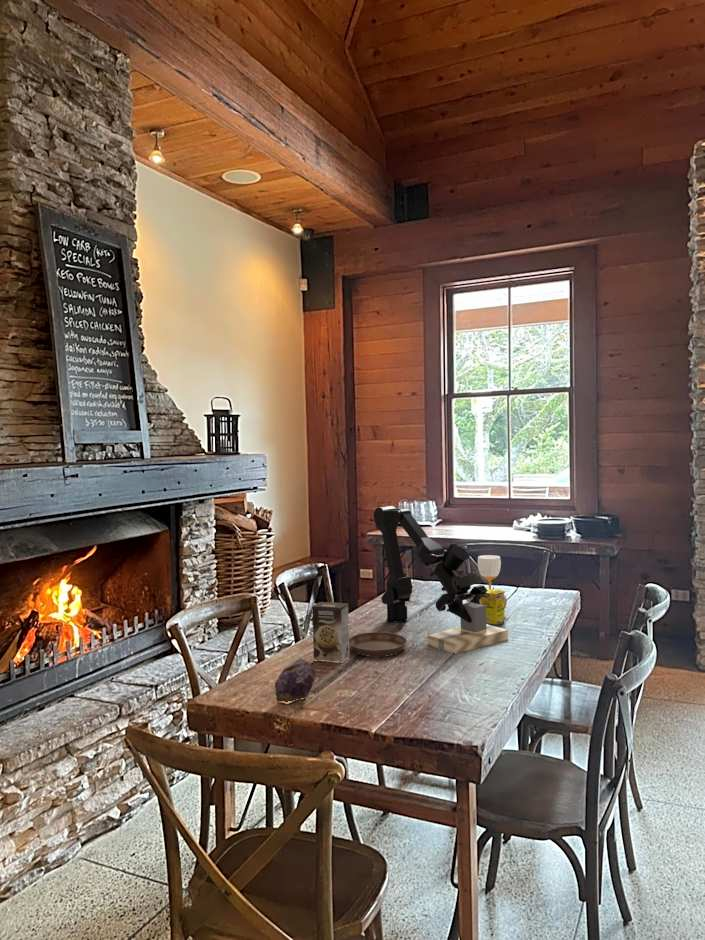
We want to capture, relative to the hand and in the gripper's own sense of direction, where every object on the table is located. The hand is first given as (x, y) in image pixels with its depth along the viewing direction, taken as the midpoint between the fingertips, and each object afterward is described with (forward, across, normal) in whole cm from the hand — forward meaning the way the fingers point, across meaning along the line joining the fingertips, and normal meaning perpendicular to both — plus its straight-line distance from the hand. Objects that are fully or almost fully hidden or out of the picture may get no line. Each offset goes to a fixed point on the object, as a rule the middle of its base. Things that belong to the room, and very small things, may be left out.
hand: (476, 620), depth 221 cm
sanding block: (+2, 0, +4) cm, 4 cm away
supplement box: (-2, +19, +12) cm, 22 cm away
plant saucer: (-6, -27, +16) cm, 32 cm away
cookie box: (-8, -42, +18) cm, 47 cm away
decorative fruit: (-6, +27, +16) cm, 32 cm away
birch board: (+4, -3, +6) cm, 7 cm away
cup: (-19, +46, +29) cm, 58 cm away
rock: (+5, -67, +5) cm, 67 cm away
